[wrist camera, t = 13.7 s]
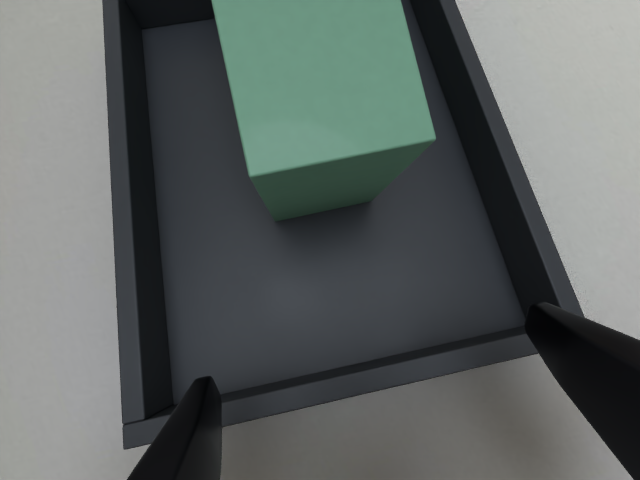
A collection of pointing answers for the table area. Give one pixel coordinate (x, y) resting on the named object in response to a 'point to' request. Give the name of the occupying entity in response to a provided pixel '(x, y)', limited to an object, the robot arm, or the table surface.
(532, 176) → the table surface
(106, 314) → the table surface
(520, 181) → the dark grey tray
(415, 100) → the green rectangular block
